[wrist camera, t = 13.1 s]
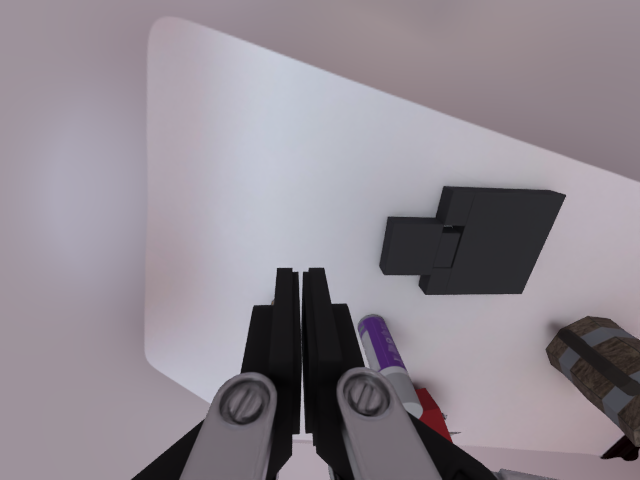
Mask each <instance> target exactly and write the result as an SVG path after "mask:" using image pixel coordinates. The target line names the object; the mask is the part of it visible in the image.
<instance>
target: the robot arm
mask: <svg viewBox="0 0 640 480" xmlns="http://www.w3.org/2000/svg"><path fill="white" fill-rule="evenodd" d="M301 341H302V347H301ZM302 365H303V388H304V412H305V432H306V434H307V433H312V434H313V446H316V453H317V454H318V455H319V456H320V457H321V458H322V459H323V460H324V461H325V462H326V463H327V464H328V470H329V475H330V479H331V480H557V479H552V478H547V477H542V476H537V475H531V474H526V473H521V472H516V471H511V470H506V469H500V471H499V472H493V471H490V470H489V469H488V468H486V467H485V466H484V465H483V464H482V463H480V462H479V461H478V460H476V459H475V458H473V457H472V456H470V455H469V454H468V453H466V452H465V451H463V450H462V449H460V448H459V447H458V446H456V445H455V444H453V443H452V442H451V441H449V440H448V439H446V438H445V437H443V436H442V435H441V434H439V433H438V432H436V431H435V430H433V429H432V428H431V427H429V426H428V425H426V424H425V423H423V422H422V421H421V420H419V419H418V418H416V417H415V416H414V415H412V414H411V413H409V412H408V411H406V410H405V408H404V406H403V404H402V402H401V400H400V398H399V396H398V395H397V393H396V391H395V389H394V387H393V386H392V384H391V383H390V381H389V380H388V379H387V378H386V377H385V376H384V375H382V374H381V373H379V372H377V371H375V370H373V369H370V368H366V367H365V365H364V361H363V358H362V354H361V351H360V347H359V344H358V340H357V337H356V333H355V330H354V326H353V322H352V319H351V315H350V312H349V308H348V306H347V304H331V299H330V294H329V289H328V285H327V280H326V275H325V270H324V268H309V272H303V287H302V321H301V323H300V299H299V275H298V272H292V268H277V276H276V287H275V298H274V305H254V307H253V311H252V316H251V321H250V326H249V331H248V337H247V342H246V347H245V352H244V357H243V363H242V368H241V373H240V374H239V375H236V376H234V377H233V378H231V379H229V380H228V381H226V382H225V383H224V384H223V385H222V386H221V387H220V388H219V390H218V392H217V393H216V395H215V397H214V399H213V401H212V404H211V406H210V409H209V411H208V413H207V415H206V418H205V419H204V420H203V421H201V422H200V423H199V424H198V425H197V426H195V427H194V428H193V429H192V430H191V431H189V432H188V433H187V434H186V435H184V436H183V437H182V438H181V439H180V440H178V441H177V442H176V443H175V444H174V445H172V446H171V447H170V448H169V449H168V450H166V451H165V452H164V453H163V454H161V455H160V456H159V457H158V458H157V459H155V460H154V461H153V462H152V463H151V464H149V465H148V466H147V467H146V468H145V469H144V470H142V471H141V472H140V473H138V474H137V475H136V476H135V477H134V478H132V479H131V480H278V477H279V470H280V469H281V468H282V467H283V465H284V464H285V463H286V462H287V461H288V459H289V458H290V457H291V456H292V435H293V434H300V407H301V377H302Z"/></svg>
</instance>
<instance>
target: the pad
mask: <svg viewBox="0 0 640 480" xmlns="http://www.w3.org/2000/svg"><path fill="white" fill-rule="evenodd" d="M459 237H460V233H459V232H458V231H456V230H455V229H454V228H452V227H444V224H443V223H442V222H440V221H439V220H438V219H436V218H418V217H388V220H387V225H386V231H385V237H384V242H383V248H382V254H381V260H380V265H379V267H380V268H381V270H382V272H383V274H384V275H431V271H432V268H433V267H434V268H450V267H451V264H452V260H453V257H454V254H455V250H456V247H457V244H458V241H459Z"/></svg>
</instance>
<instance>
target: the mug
mask: <svg viewBox="0 0 640 480" xmlns="http://www.w3.org/2000/svg"><path fill="white" fill-rule="evenodd" d="M546 352H547V355H548V358H549V360H550V363H551V365H552V366H554V367H555V368H556V369H557V370H559V371H560V372H561V373H563V374H564V375H565V376H566V377H567V378H568V379H569V380H570V381H571V382H572V383H573V384H574V385H575V386H576V387H577V388H578V389H579V390H580V392H581V393H582V394H583V395H584V396H585V397H586V398H587V399H588V400H589V401H590V402H591V403H592V404H594V405H595V406H596V407H597V408H598V409H599V410H601V411H602V412H603V413H604V414H605V415H606V416H607V417H609V418H610V419H611V420H612V421H613V422H614V423H615V424H616V425H617V426H618V427H619V428H620V429H621V430H622V431H623V432H624V434H625V435H626V436H627V437H628V438H629V439H630V440H631V441H632V443H633V444H634V445H635V446H636V447H640V340H639V339H637V338H635V337H634V336H632V335H631V334H629V333H628V332H626V331H625V330H623V329H622V328H621V327H619V326H618V325H617V324H616V323H614V322H613V321H612V320H611V319H606V318H598V317H590V316H587V317H585V318H583V319H581V320H579V321H577V322H575V323H573V324H571V325H569V326H567V327H565V328H563V329H561V330H560V331H559V332H558V334H557V335H556V336H555V338H554V339H553V340H552V342H551V343H550V345H549V346H548V347H547V349H546Z"/></svg>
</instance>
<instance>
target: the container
mask: <svg viewBox="0 0 640 480" xmlns="http://www.w3.org/2000/svg"><path fill="white" fill-rule="evenodd" d="M358 331H359V334H360V338H361V341H362V344H363V347H364V351H365V354H366V357H367V360H368V364H369V367H370V369H373V370H375V371H377V372H379V373H381V374H382V375H384V376H385V377H386V378H387V379H388V380H389V381H390V383H391V384H392V386H393V387H394V389H395V391H396V393H397V395H398V396H399V398H400V400H401V402H402V404H403V406H404V408H405V410H406V411H408V412H409V413H411V414H412V415H414V416H415V417H416V418H418V419H419V418H420V417H421V415H422V413H423V408H422V406H421V404H420V401H419V399H418V396H417V394H416V392H415V389H414V387H413V384H412V382H411V380H410V377H409V375H408V372H407V370H406V368H405V366H404V363H403V361H402V359H401V357H400V355H399V352H398V350H397V348H396V346H395V343H394V341H393V339H392V337H391V335H390V332H389V330H388V328H387V326H386V323H385V321H384V319H383V318H382V317H381V316H378V315H368V316H366V317H364V318H362V319H361V320H360V322H359V323H358Z"/></svg>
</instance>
